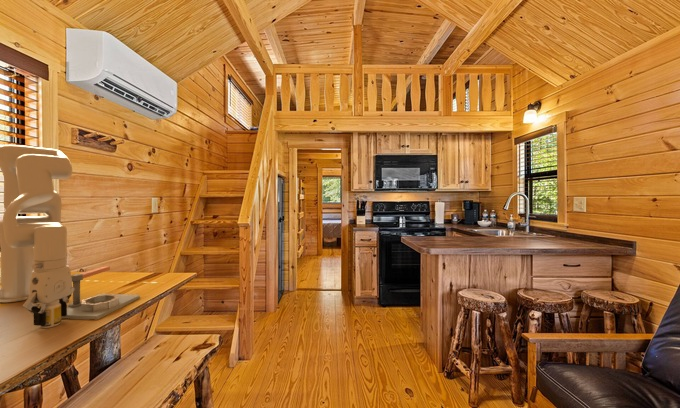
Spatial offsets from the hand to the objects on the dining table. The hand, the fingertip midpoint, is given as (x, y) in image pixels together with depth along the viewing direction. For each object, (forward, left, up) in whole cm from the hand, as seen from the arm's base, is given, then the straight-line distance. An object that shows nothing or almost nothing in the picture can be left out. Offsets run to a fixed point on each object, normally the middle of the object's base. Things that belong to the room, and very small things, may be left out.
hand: (50, 319), depth 96 cm
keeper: (+10, +17, +9) cm, 22 cm away
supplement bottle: (0, 0, -2) cm, 2 cm away
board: (+12, +10, -2) cm, 16 cm away
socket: (+12, +7, 0) cm, 14 cm away
